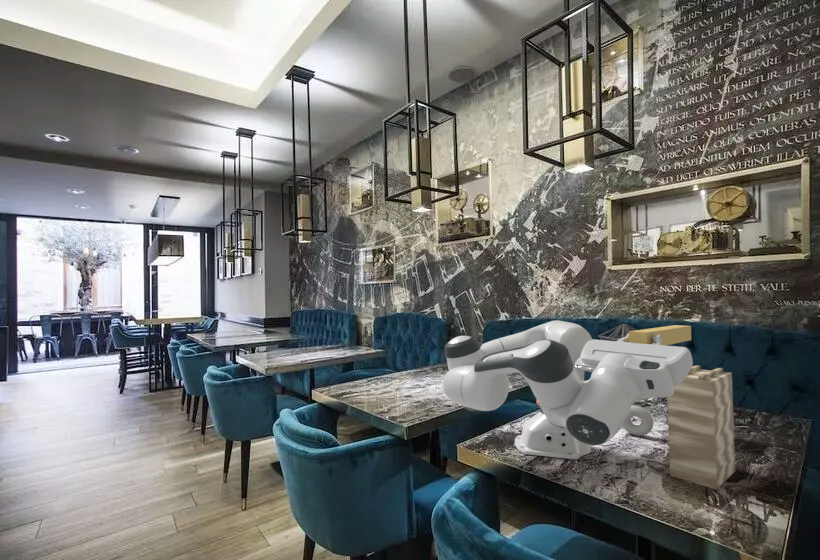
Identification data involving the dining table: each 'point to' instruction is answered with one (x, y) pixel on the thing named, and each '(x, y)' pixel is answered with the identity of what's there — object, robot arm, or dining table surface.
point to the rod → (662, 334)
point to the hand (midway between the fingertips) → (645, 336)
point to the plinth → (702, 428)
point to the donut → (645, 418)
